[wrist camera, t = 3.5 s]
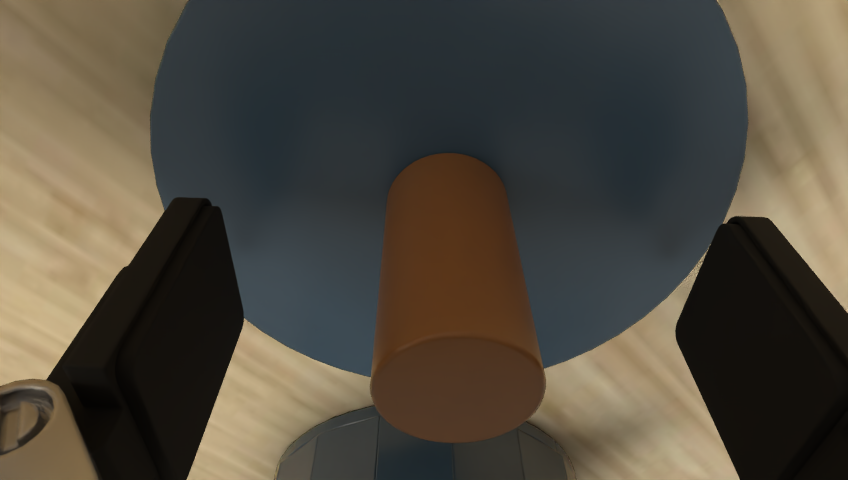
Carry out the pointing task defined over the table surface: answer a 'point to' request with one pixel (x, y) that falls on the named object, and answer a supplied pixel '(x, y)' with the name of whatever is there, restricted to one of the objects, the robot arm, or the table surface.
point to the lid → (453, 180)
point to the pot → (418, 454)
